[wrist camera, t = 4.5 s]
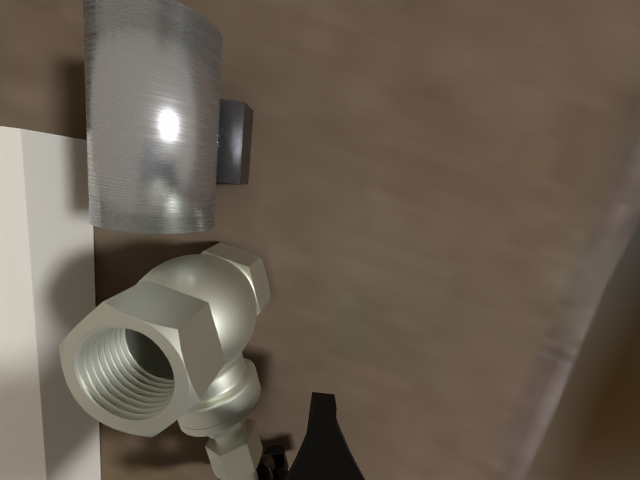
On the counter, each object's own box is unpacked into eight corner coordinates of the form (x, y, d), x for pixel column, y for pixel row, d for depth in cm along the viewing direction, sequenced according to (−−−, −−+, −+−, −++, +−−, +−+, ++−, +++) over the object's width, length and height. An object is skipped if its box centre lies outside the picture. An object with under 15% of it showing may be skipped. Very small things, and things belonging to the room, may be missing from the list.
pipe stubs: (220, 574, 17) (180, 730, 12) (143, 568, 17) (74, 722, 12) (256, 71, 12) (213, -3, 7) (146, 57, 12) (25, -29, 7)
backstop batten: (102, 544, 17) (56, 621, 14) (66, 541, 17) (13, 618, 14) (90, 140, 13) (20, 128, 10) (41, 134, 12) (-43, 121, 10)
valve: (154, 249, 14) (222, 463, 16) (-22, 315, 7) (133, 656, 10) (291, 224, 13) (343, 456, 15) (228, 274, 6) (334, 665, 9)
